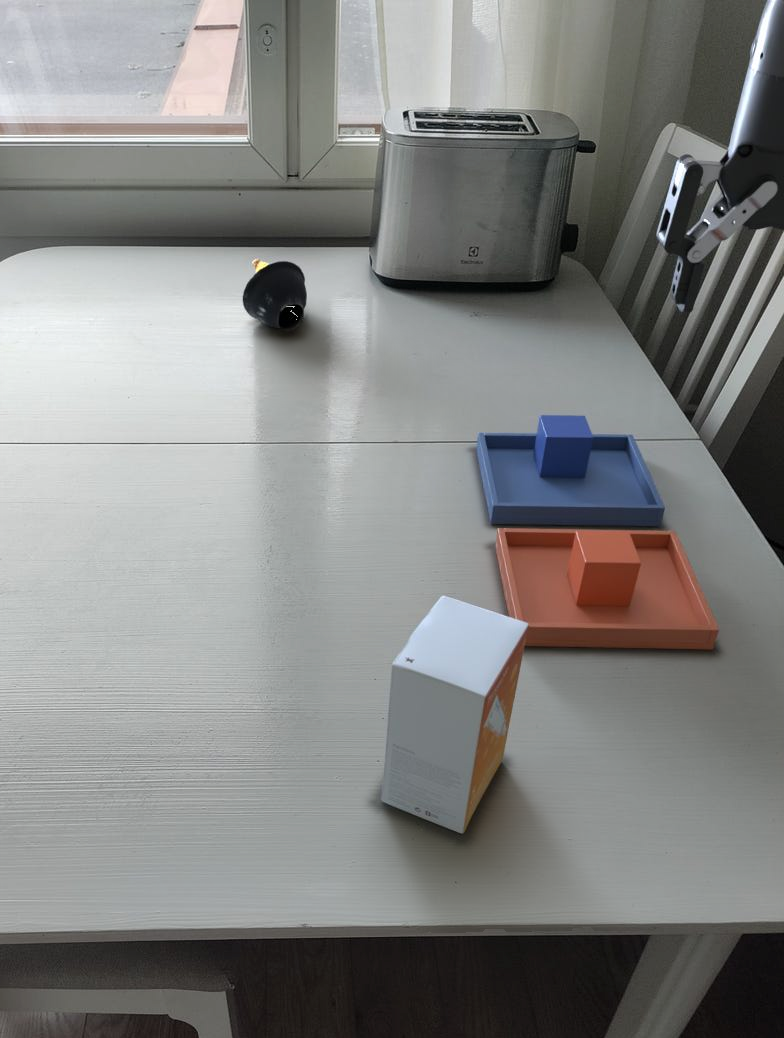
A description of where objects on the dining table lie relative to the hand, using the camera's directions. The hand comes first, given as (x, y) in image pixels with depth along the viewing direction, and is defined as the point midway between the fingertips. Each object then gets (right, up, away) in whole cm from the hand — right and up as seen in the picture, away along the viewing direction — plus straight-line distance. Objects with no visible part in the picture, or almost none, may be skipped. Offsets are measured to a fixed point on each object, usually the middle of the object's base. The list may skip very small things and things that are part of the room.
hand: (741, 309), depth 74 cm
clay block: (-7, -20, +12) cm, 25 cm away
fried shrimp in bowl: (-37, +20, +61) cm, 74 cm away
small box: (-23, -35, -3) cm, 42 cm away
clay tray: (-7, -21, +13) cm, 25 cm away
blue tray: (-6, -9, +26) cm, 29 cm away
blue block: (-6, -7, +28) cm, 30 cm away
